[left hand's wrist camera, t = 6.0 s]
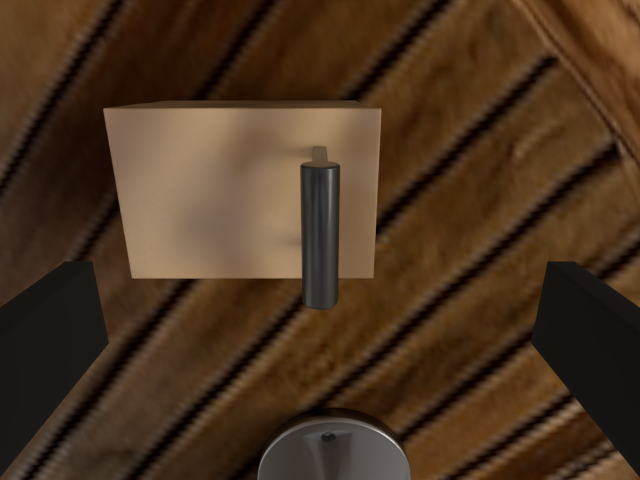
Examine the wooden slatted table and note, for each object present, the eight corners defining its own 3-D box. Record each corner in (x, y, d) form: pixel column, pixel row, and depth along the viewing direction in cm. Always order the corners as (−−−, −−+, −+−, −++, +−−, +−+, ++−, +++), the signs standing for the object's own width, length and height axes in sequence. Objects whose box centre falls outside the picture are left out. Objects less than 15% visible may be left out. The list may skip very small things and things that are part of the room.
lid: (379, 107, 23) (407, 119, 16) (371, 272, 26) (391, 345, 19) (110, 107, 23) (12, 119, 16) (137, 272, 26) (67, 345, 19)
